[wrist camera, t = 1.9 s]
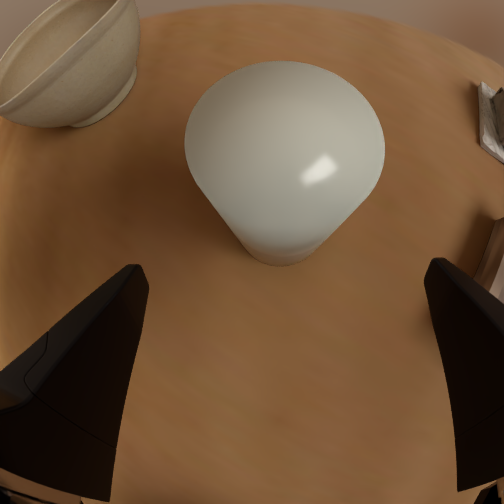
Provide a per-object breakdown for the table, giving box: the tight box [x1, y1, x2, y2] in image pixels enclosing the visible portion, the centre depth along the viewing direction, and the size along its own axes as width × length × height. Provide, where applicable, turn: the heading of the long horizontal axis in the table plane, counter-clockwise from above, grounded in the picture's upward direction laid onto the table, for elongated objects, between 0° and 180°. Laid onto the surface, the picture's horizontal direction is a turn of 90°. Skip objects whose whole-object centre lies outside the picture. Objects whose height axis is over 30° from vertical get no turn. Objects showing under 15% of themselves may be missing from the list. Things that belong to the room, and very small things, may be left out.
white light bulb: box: [185, 61, 385, 267], centre depth 14 cm, size 6×6×12 cm
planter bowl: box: [0, 0, 140, 128], centre depth 18 cm, size 16×16×11 cm
